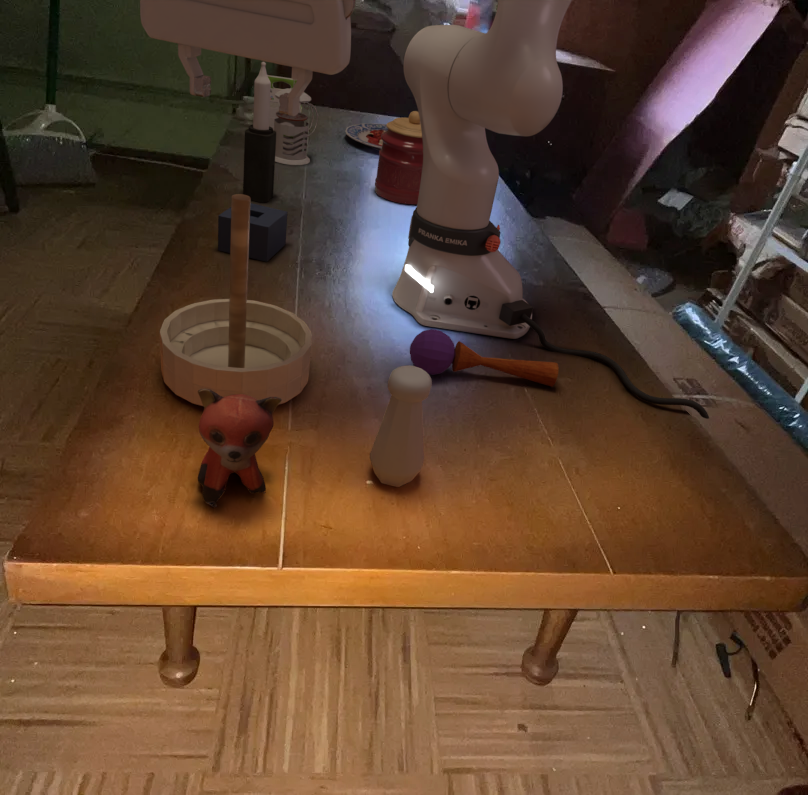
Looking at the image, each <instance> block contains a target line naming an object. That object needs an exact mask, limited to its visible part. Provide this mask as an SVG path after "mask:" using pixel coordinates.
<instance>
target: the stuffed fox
mask: <svg viewBox="0 0 808 795" xmlns="http://www.w3.org/2000/svg"><path fill="white" fill-rule="evenodd" d="M198 394H199V396H200V399H201V401H202V404H203V406H202V407H203V411H202V414H201V416H200V418H199V422H198V431H199V435H200V437H201V439H202V440H203V442H204V443H205V444H206V445H207V446H208V449H207V451H206V452H205V455H204V456H203V458H202V460H201V463H200V467H199V471H198V475H197V481H198V483H199V484H200V485H201V486H202V499H203V501H204V502H205V503H206V504H207V505H209V506H210V507H211V508H217V507H218V504H217V503H218V501H219V500H220V499H221V497H222V496H223V495H224V494H225V493H226V489H227V487H226V486H227V484H228V481H229V477H230V475H231V474H233V473H235V474H237V475H238V476H239V478H240V481H241V484H242V485H244V486H245V487H246V489H247V491H248V492H249V493H250V494H258V493H259V494H260V493H264V494H266V493H267V492H266V491H267V490H266V489H267V487H266V482H265V477H264V476H263V473H262V472H261V469H260V467H259V464H258V460H257V457H256V454H257V452H258V451H259V450H260V449H261V448H262V447H263V446H264V444H265V443H266V442H267V440H268V439H269V437H270V434H271V432H272V430H273V429H274V426H275V425H274V424H275V422H274V413H275V411H276V409H277V408H278V406H279V405H280V404H279V403H280V402H281V401H282V399H281V398H278V397H268V398H265V399H262V400H257V399H255V398H253V397H251V396H248V395H245V394H235V395H229V396H226V397H222V396H220V395H218V394H217V393H215V392H214V391H212V390H210V389H200V390H198ZM278 404H279V405H278Z"/></svg>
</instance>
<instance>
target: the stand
mask: <svg viewBox="0 0 808 795" xmlns="http://www.w3.org/2000/svg"><path fill="white" fill-rule="evenodd" d="M288 215H289V214H288V211H287V210H283V209H278V208H275V207H269V206H265V205H260V204H256V203H252V202H250V230H249V258H250V259H253V260H257V261H261V262H266V263H267V262H269V261H270V260H271V259H272V258H273V257H274V256H275V255H276V254H277V253H278V252H280V251H281V249H283V248H284V247H285V246H286V243H287V226H288ZM230 247H231V206H230V207H229V208H227V209H225V210H224V211H223V212H222V213H220V214H218V215H217V251H218V252H224V253H228V254H230Z"/></svg>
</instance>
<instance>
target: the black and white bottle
mask: <svg viewBox="0 0 808 795" xmlns="http://www.w3.org/2000/svg"><path fill="white" fill-rule="evenodd" d="M266 66H267V62H266V61H261V62H260V70H259V71H258V72H259V73H258V75H257V76H256V78H255V79H254V86H253V87H254V88H253V89H254V90H253V118H252V119H253V120H252V124H250V125H248V128H247V129H245V130H244V142H243V143H244V144H243V145H244V146H243V180H242V181H243V182H242V194H244V195H247V196H249V197H250V198H251V201H252V202H256V203H257V202H258V203H268V202H269V200H271V199H273V198H274V187H275V186H274V185H275V171H276V170H275V167H276V162H275V151H276V131H274V130H273V128H272V127H269V113H270V91H271V82H270V80H269V78H268V76H267V75H268V73H267V69H266Z"/></svg>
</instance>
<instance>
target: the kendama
mask: <svg viewBox="0 0 808 795" xmlns="http://www.w3.org/2000/svg"><path fill="white" fill-rule="evenodd" d="M409 356H410V361H411V363H412V364H413V366H416V367H419V368H421V369H423V370H424V371H426V372H427V373H428V374H429V375H430V376H435V375H439V374H443V373H444V372H446V371H447V370H448V369H449V368H451V371H452V372H453V373H456V372H459V371H463V370H467V369H471V368H474V367H478V366H482V367H485V368H489V369H492V370H495V371H498V372H502V373H505V374H509V375H511V376H514V377H518V378H521V379H525V380H529V381H532V382H534V383H537V384H542V385H544V386H548V387H554V386H555V384H556V382H557V380H558V376H559V364H558V363H557V362H552V361H540V360H528V359H515V358H514V359H513V358H501V357H500V358H499V357H487V356H486V357H484V356H481V355H480V354H478V352H475V351H474V350H473V349H471V348H470V347H468V346H467V345H466V344H465V343H463V342H462V341H460V340H458V341H457V342H456V344H455V343H454V341H453V340H452V338H451V337H450V335H448V334H446V333H445V332H444V331H442V330H439V329H434V328H430V329H425V330H422V331H421V332H420V333H418V334H416V336H415V337H414V338H413V340H412V341H411V343H410V346H409Z"/></svg>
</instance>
